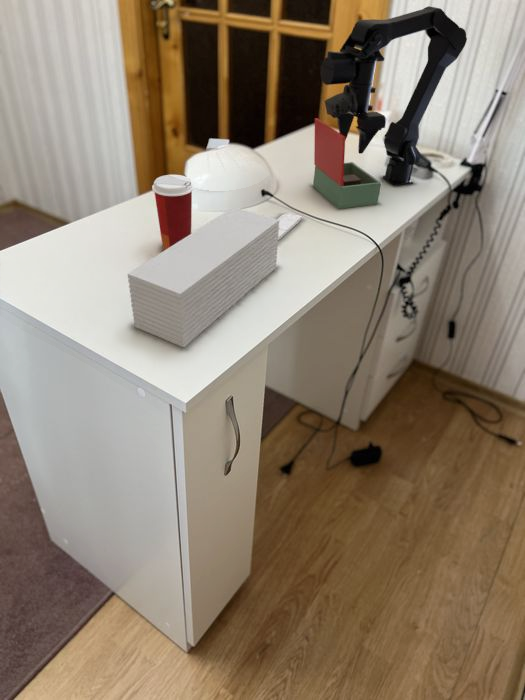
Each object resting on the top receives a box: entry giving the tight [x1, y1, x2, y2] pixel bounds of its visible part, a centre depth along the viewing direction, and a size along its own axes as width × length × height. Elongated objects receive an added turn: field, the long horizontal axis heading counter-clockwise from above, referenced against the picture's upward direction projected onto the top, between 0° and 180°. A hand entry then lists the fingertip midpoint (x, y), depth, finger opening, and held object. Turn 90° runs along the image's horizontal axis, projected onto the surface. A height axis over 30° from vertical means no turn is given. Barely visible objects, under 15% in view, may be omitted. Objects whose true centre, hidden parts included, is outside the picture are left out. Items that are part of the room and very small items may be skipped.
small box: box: [205, 138, 231, 151], centre depth 142 cm, size 8×6×10 cm
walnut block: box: [343, 175, 361, 186], centre depth 141 cm, size 5×4×4 cm
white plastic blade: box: [277, 212, 302, 241], centre depth 124 cm, size 5×15×1 cm, turn 152°
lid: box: [313, 117, 346, 186], centre depth 133 cm, size 12×15×1 cm
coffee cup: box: [151, 174, 194, 251], centre depth 111 cm, size 8×8×15 cm
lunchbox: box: [312, 161, 382, 210], centre depth 141 cm, size 11×15×6 cm
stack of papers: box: [127, 206, 279, 348], centre depth 99 cm, size 32×11×11 cm, turn 150°
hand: (351, 147), depth 138 cm, fingers open, 9 cm apart
